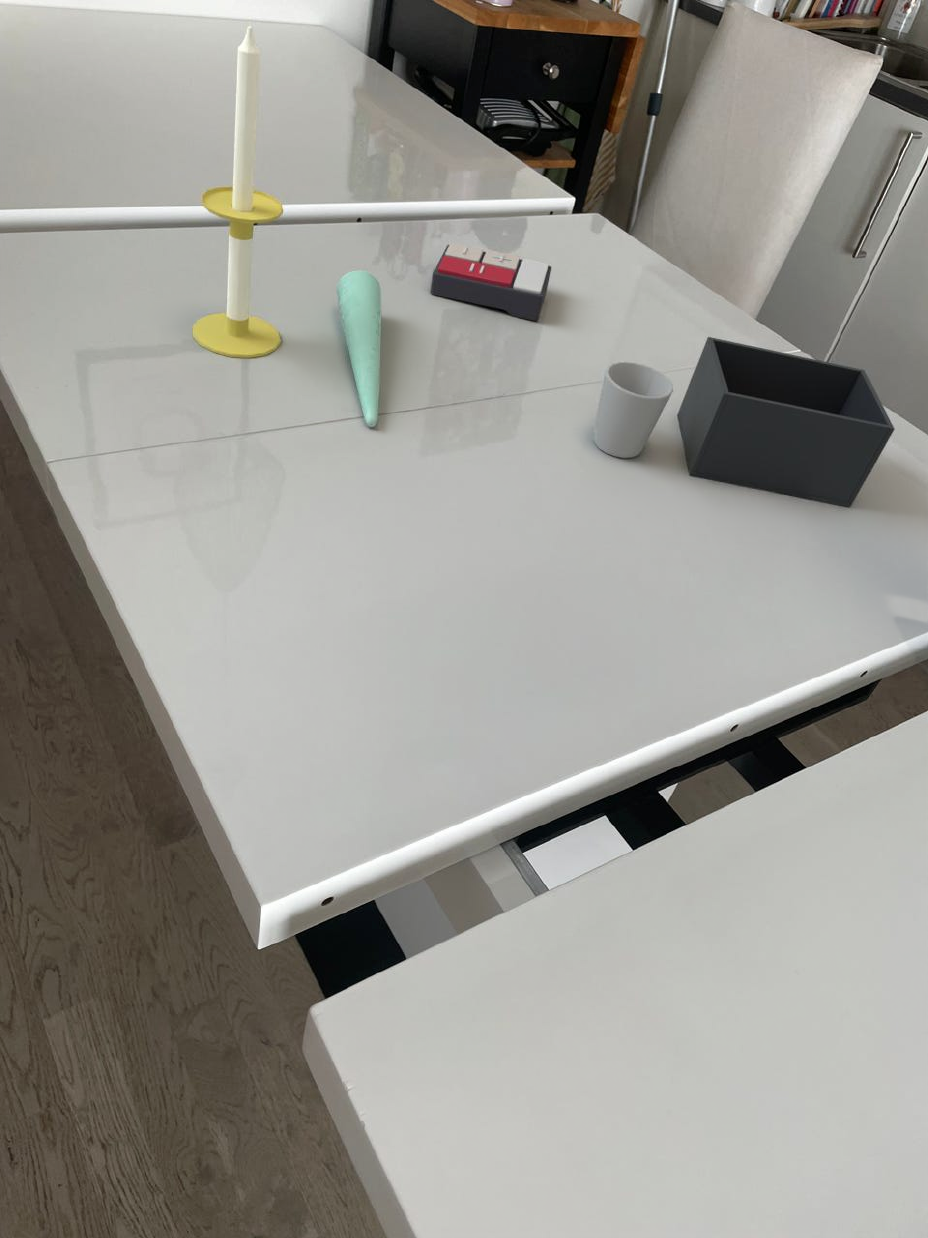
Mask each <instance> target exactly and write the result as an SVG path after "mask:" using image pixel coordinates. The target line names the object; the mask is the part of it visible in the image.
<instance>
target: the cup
mask: <svg viewBox="0 0 928 1238" xmlns="http://www.w3.org/2000/svg"><path fill="white" fill-rule="evenodd" d="M673 392H674V387H673V384H672V381H671V380H670V379H669V378H668V377H667V376H666V375H665V374H663V373H662V372H661V371H659V370H657V369H656V368H653V367H651V366H648V365H645V364H643V363H638V362H632V361H617V362H614V363H612V364H610V365H608V367H607V368H606V369H605V373H604V377H603V381H602V388H601V391H600V395H599V396H600V397H599V400H598V407H597V412H596V419H595V425H594V431H593V438H592V439H593V442H594V444H595V446H597V447H598V449H600V450H601V451H602V452H604V453H606V454H607V455H610V456H613V457H615V458H621V459H629V458H634V457H637V456H638V455H640V454H641V452H642V450H643V448H644V447H645V445H646V443H647V441H648V440H649V438H650V436H651V434H652V433H653V431H654V429H655V427H656V426H657V423H658V422H659V420H660V417H661V416H662V413H663V411H664V410H665V408H666V406H667V403H668V402H669V400H670V398H671V396H672V393H673Z"/></svg>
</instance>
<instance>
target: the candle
mask: <svg viewBox="0 0 928 1238" xmlns="http://www.w3.org/2000/svg"><path fill="white" fill-rule="evenodd" d="M253 29H254V28H253V27H252V20H251V19H250V20H249V26H247V29H246V32H245V36H244V38H243V41H242V43H241V44H240V45H239V46H238V47H237V58H236V59H237V61H236V90H235V113H234V114H235V115H234V116H235V119H234V147H233V173H232V186H217V187H213V188H210V189H207V190H205V191H204V192H203V193H202V194H201V196H200V197H201V198H200V199H201V205H202V206H203V208H205V209H206V210H207V211H208V212H209V213H210V214H213V215H215V216H217V217H219V218H221V219H224V220H229V235H228V236H229V237H228V264H227V290H226V291H227V292H226V312H219V313H212V314H208V315H206V316H204V317H201V318H199V319H198V320H197V321H196V322H195V324H193V325H192V337H193V339H194V340H195V341H196V342H197V343H198V344H199V345H200V346H201V347H203V348H204V349H206V350H209V351H210V352H212V353H214V354H218V355H222V356H226V357H230V358H242V359H250V358H257V357H258V358H259V357H265V356H267V355H268V354H271V353H273V352H275V351H276V350H277V349H278V348H279V346H280V344H281V342H282V341H281V337H280V332H279V331H278V330H277V328H275V327H274V326H273V324H271V323H269V322H268V321H265V320H263V319H262V318H259V317H257V316H252V315H250V302H251V286H252V284H251V283H252V265H253V264H252V263H253V243H254V227H255V226H254V225H255V224H264V223H271V222H273V221H276V220H278V219H279V218H280V217H281V216H282V215H283V213H284V207H283V203H281V202H280V201H279V200H278V199H277V198H276V197H274V196H273V195H269V194H267V193H266V192H263V191H260V190H257V189H255V170H256V169H255V167H256V150H257V148H256V147H257V146H256V145H257V129H258V128H257V127H258V109H259V108H258V106H259V90H260V89H259V85H260V68H261V64H260V63H261V50H260V49H259V48H258V46H257V44H256V40H255V35H254V30H253Z"/></svg>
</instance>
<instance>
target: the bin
mask: <svg viewBox="0 0 928 1238" xmlns="http://www.w3.org/2000/svg"><path fill="white" fill-rule="evenodd" d="M866 372H867V371H866V370H865V369H863V368H857V367H852V366H848V365H842V364H838V363H833V362H828V361H823V360H819V359H814V358H809V357H805V356H801V355H795V354H791V353H788V352H787V353H786V352H782V351H776V350H772V349H767V348H762V347H758V346H753V345H749V344H745V343H739V342H735V341H730V340H726V339H720V338H716V337H711V336H707V338H706V341H705V343H704V345H703V347H702V351H701V353H700V356H699V358H698V361H697V364H696V366H695V368H694V371H693V373H692V376H691V379H690V381H689V384H688V386H687V389H686V392H685V394H684V397H683V399H682V402H681V403H680V404H681V405H680V406H679V409H678V413H677V414H676V415H677V421H678V426H679V430H680V435H681V441H682V445H683V449H684V454H685V459H686V463H687V464H686V465H687V469H688V474H689V476H691V477H695V478H701V479H705V480H711V481H715V482H721V483H726V484H730V485H736V486H741V487H745V488H751V489H755V490H760V491H766V492H771V493H776V494H780V495H787V496H791V497H797V498H800V499H807V500H811V501H816V502H822V503H826V504H832V505H835V506H836V505H837V506H840V507H841V506H842V507H846V508H851V507H852V505H853V503H854V502H855V500H856V498H857V496H858V495H859V493H860V491H861V490H862V488H863V486H864V485H865V483H866V481H867V479H868V477H869V475H870V473H871V472H872V470H873V468H874V467H875V465H876V463H877V461H878V460H879V458H880V456H881V454H882V452H883V451H884V449H885V447H886V446H887V444H888V442H889V440H890V439H891V437H892V435H893V433H894V431H895V430H896V428H895V426H894V424H893V423H892V420H891V418H890V417H889V415H888V412H887V411H886V409H885V407H884V406H883V405H884V404H883V403H882V401H881V399H880V398H879V395H878V393H877V392H876V390H875V388H874V386H873V384H872V382H871V379H870V378H869V376H868V373H866Z"/></svg>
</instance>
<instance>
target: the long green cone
mask: <svg viewBox="0 0 928 1238" xmlns="http://www.w3.org/2000/svg"><path fill="white" fill-rule="evenodd" d="M336 294H337V295H336V296H337V301H338V308H339V312H340V317H341V322H342V327H343V331H344V336H345V337H344V338H345V342H346V345H347V350H348V354H349V355H348V356H349V359H350V364H351V367H352V373H353V377H354V381H355V386H356V391H357V394H358V399H359V402H360V407H361V411H362V416H363V418H364V422H365V424H366V425H367V426H368V427H369V428H374V427H375V426H376V425H377V424H378V419H379V418H378V417H379V401H380V400H379V397H380V371H381V370H380V368H381V367H380V366H381V339H382V338H381V337H382V335H381V334H382V333H381V332H382V291H381V285H380V283H379V281H378V279H377V278H376V276H375V275H373V274H372V273H370V272H368V271H365V270H361V269H360V270H359V269H357V270H352V271H349V272H347V273H346V274H344V275H343V276H342V277H341V278H340V279H339V281H338V283H337V287H336Z"/></svg>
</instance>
